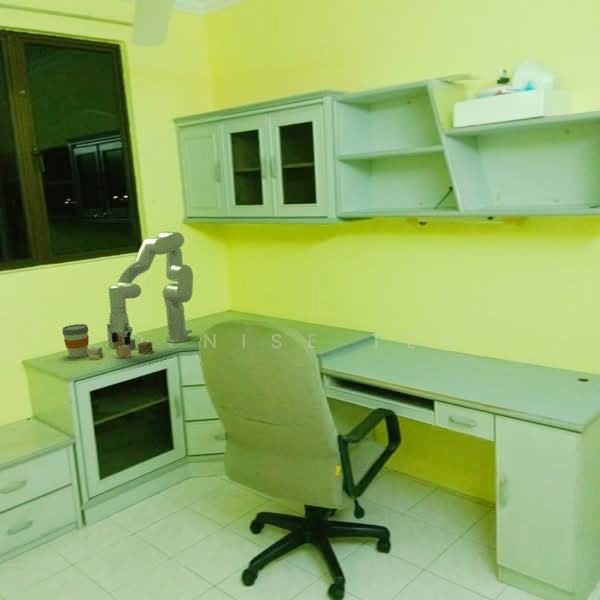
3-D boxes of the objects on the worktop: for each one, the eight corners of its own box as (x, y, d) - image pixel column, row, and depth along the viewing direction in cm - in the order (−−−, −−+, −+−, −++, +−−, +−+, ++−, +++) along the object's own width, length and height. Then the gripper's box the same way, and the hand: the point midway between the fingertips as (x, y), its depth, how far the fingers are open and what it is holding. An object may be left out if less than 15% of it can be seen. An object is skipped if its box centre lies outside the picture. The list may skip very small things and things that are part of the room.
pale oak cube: (93, 356, 308) (92, 346, 307) (102, 356, 307) (101, 346, 306) (89, 359, 303) (87, 349, 302) (98, 359, 303) (97, 349, 302)
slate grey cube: (131, 346, 322) (130, 337, 321) (135, 348, 319) (134, 339, 318) (122, 348, 319) (121, 339, 318) (127, 350, 316) (126, 341, 315)
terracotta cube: (124, 354, 309) (123, 345, 308) (131, 355, 306) (130, 346, 305) (116, 357, 304) (115, 347, 304) (123, 358, 302) (122, 348, 301)
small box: (114, 348, 320) (111, 325, 318) (108, 346, 325) (106, 323, 322) (128, 345, 326) (125, 322, 323) (122, 343, 330) (119, 320, 328)
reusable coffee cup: (76, 359, 303) (72, 331, 300) (60, 356, 310) (56, 328, 307) (96, 352, 314) (92, 325, 311) (80, 350, 320) (77, 323, 317)
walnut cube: (145, 350, 314) (144, 341, 313) (152, 351, 312) (151, 342, 311) (138, 353, 309) (137, 344, 308) (146, 354, 307) (145, 344, 306)
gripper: (101, 309, 302) (104, 342, 305) (123, 312, 292) (126, 346, 295) (113, 307, 308) (116, 339, 311) (135, 310, 298) (138, 343, 301)
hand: (121, 343), depth 303 cm, fingers open, 9 cm apart
